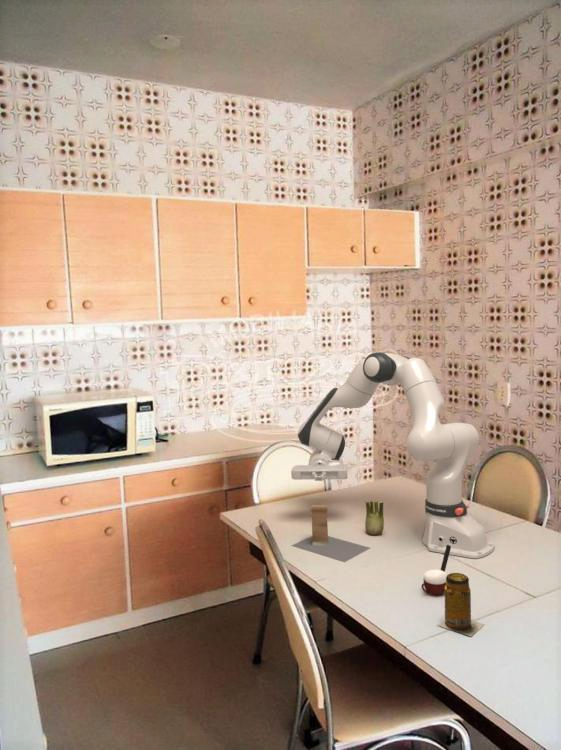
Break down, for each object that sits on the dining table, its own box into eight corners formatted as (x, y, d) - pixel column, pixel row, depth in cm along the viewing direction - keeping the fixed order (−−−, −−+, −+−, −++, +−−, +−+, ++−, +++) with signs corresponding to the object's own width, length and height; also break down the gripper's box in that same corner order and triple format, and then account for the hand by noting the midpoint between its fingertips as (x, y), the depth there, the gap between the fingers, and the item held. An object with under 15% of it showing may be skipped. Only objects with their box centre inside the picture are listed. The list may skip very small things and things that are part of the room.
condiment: (452, 614, 151) (451, 568, 150) (484, 625, 145) (484, 577, 144) (437, 626, 146) (436, 578, 144) (470, 637, 140) (470, 588, 139)
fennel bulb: (385, 534, 206) (384, 500, 205) (378, 539, 203) (377, 504, 201) (370, 531, 210) (369, 497, 209) (363, 535, 206) (362, 501, 205)
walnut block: (313, 539, 203) (311, 505, 202) (328, 539, 203) (326, 504, 202) (312, 545, 198) (311, 509, 197) (327, 545, 198) (326, 509, 197)
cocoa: (423, 599, 160) (421, 557, 158) (417, 588, 166) (414, 547, 164) (458, 596, 160) (456, 553, 158) (451, 584, 166) (449, 543, 165)
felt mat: (370, 549, 194) (370, 547, 194) (344, 563, 184) (344, 562, 184) (318, 534, 209) (317, 533, 209) (291, 546, 199) (291, 545, 199)
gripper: (291, 460, 225) (289, 470, 212) (346, 459, 224) (347, 469, 210) (292, 476, 226) (289, 487, 212) (347, 475, 224) (347, 487, 211)
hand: (318, 478), depth 211 cm, fingers closed
